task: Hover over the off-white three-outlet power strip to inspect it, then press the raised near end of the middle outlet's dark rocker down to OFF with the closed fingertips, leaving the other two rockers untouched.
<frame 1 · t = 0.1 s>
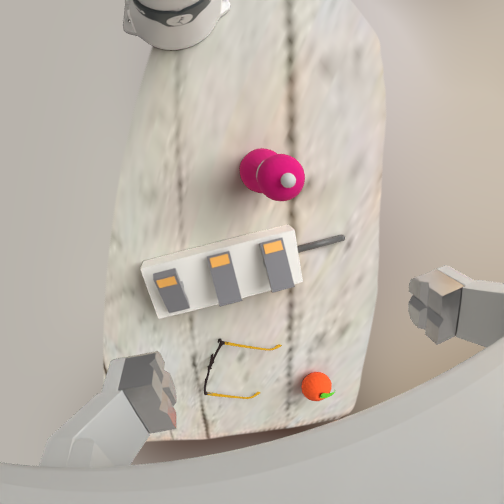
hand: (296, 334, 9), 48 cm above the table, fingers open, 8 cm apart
pepper mill: (257, 168, 55), on the table
rocker 3: (277, 264, 54), point 6 cm above the table, hinge at -20.0°
clementine: (313, 376, 72), on the table
rocker 1: (172, 292, 53), point 6 cm above the table, hinge at 20.0°
power strip: (221, 267, 60), on the table
rocker 2: (224, 278, 54), point 6 cm above the table, hinge at -20.0°
eyeglasses: (239, 364, 68), on the table
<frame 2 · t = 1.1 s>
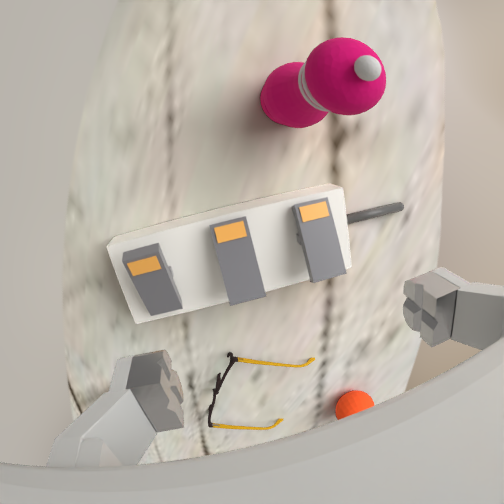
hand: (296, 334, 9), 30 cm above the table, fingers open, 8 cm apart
pepper mill: (285, 100, 35), on the table
rocker 3: (319, 239, 34), point 6 cm above the table, hinge at -20.0°
clementine: (349, 396, 53), on the table
rocker 1: (154, 282, 33), point 6 cm above the table, hinge at 20.0°
power strip: (231, 246, 40), on the table
rocker 2: (237, 260, 34), point 6 cm above the table, hinge at -20.0°
eyeglasses: (256, 384, 48), on the table
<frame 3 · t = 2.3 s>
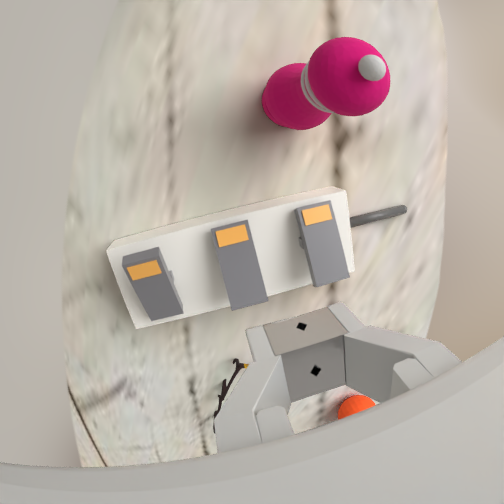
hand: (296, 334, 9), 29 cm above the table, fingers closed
pepper mill: (287, 101, 35), on the table
rocker 3: (322, 243, 34), point 6 cm above the table, hinge at -20.0°
clementine: (352, 400, 52), on the table
rocker 1: (154, 287, 32), point 6 cm above the table, hinge at 20.0°
power strip: (233, 250, 39), on the table
rocker 2: (239, 265, 33), point 6 cm above the table, hinge at -20.0°
eyeglasses: (262, 390, 48), on the table
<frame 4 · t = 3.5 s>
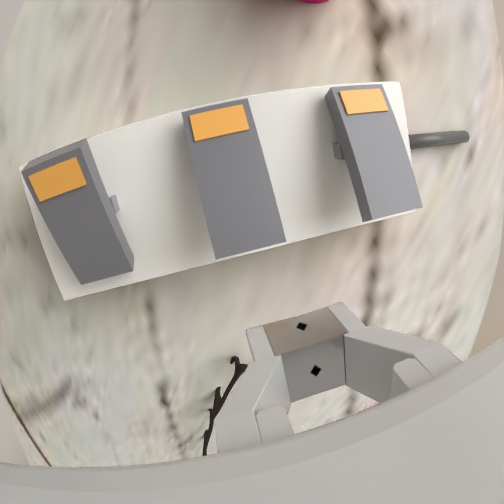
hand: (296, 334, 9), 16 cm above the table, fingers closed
rocker 3: (375, 148, 18), point 6 cm above the table, hinge at -20.0°
rocker 1: (80, 219, 17), point 6 cm above the table, hinge at 20.0°
power strip: (223, 174, 23), on the table
rocker 2: (231, 175, 17), point 6 cm above the table, hinge at -20.0°
eyeglasses: (272, 402, 33), on the table
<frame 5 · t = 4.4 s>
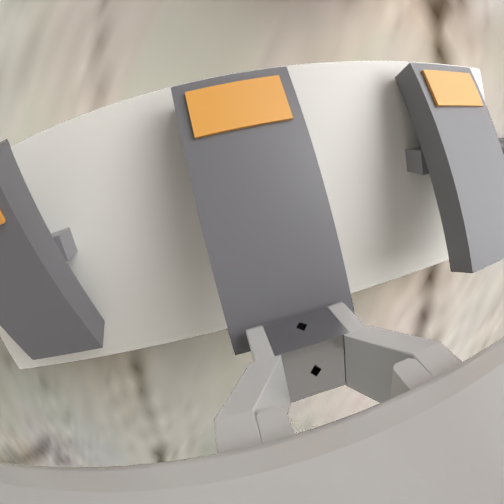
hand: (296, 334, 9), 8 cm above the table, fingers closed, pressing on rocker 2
rocker 3: (469, 160, 11), point 6 cm above the table, hinge at -20.0°
rocker 1: (12, 272, 9), point 6 cm above the table, hinge at 20.0°
power strip: (237, 189, 16), on the table
rocker 2: (260, 201, 10), point 6 cm above the table, hinge at -19.6°, touching gripper
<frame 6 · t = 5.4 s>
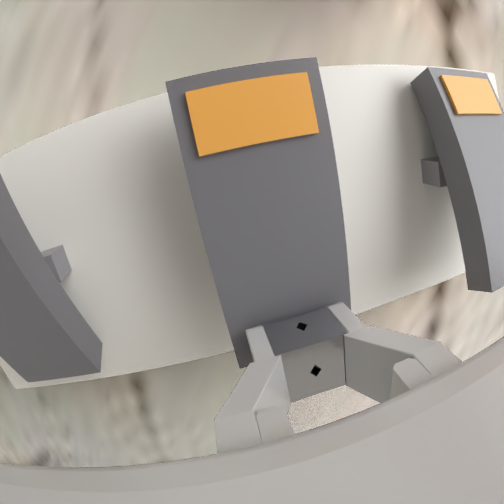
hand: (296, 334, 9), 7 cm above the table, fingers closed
rocker 3: (488, 172, 10), point 6 cm above the table, hinge at -20.0°
rocker 1: (2, 294, 8), point 6 cm above the table, hinge at 20.0°
power strip: (242, 201, 15), on the table
rocker 2: (270, 221, 9), point 6 cm above the table, hinge at 1.5°
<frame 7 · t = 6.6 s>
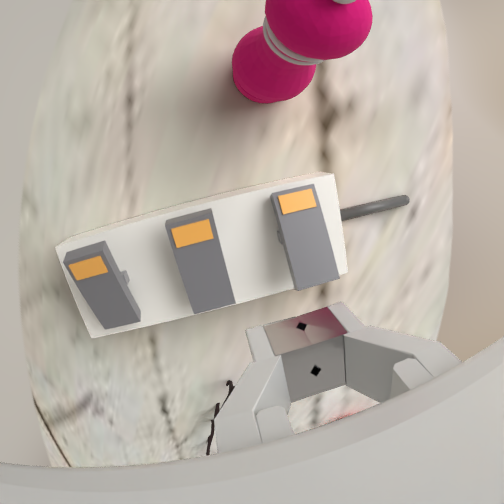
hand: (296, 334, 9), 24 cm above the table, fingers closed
pepper mill: (263, 75, 29), on the table
rocker 3: (305, 236, 28), point 6 cm above the table, hinge at -20.0°
rocker 1: (104, 289, 26), point 6 cm above the table, hinge at 20.0°
power strip: (202, 249, 33), on the table
rocker 2: (201, 263, 27), point 6 cm above the table, hinge at 6.6°
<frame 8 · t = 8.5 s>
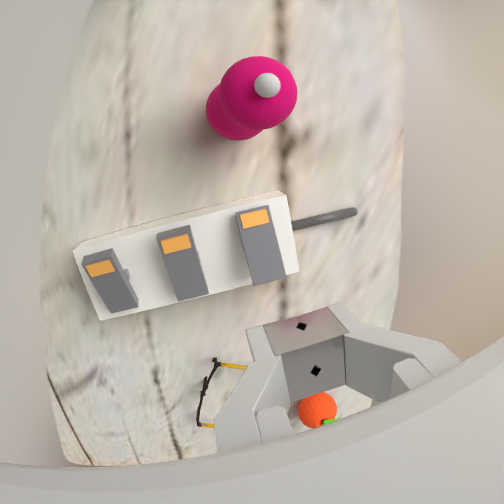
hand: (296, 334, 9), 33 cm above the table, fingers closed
pepper mill: (233, 112, 38), on the table
rocker 3: (260, 245, 37), point 6 cm above the table, hinge at -20.0°
clementine: (313, 396, 55), on the table
rocker 1: (111, 283, 35), point 6 cm above the table, hinge at 20.0°
power strip: (185, 251, 42), on the table
rocker 2: (183, 264, 36), point 6 cm above the table, hinge at 7.9°
eyeglasses: (241, 387, 52), on the table
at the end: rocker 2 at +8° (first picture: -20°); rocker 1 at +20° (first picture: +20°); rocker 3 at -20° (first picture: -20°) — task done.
